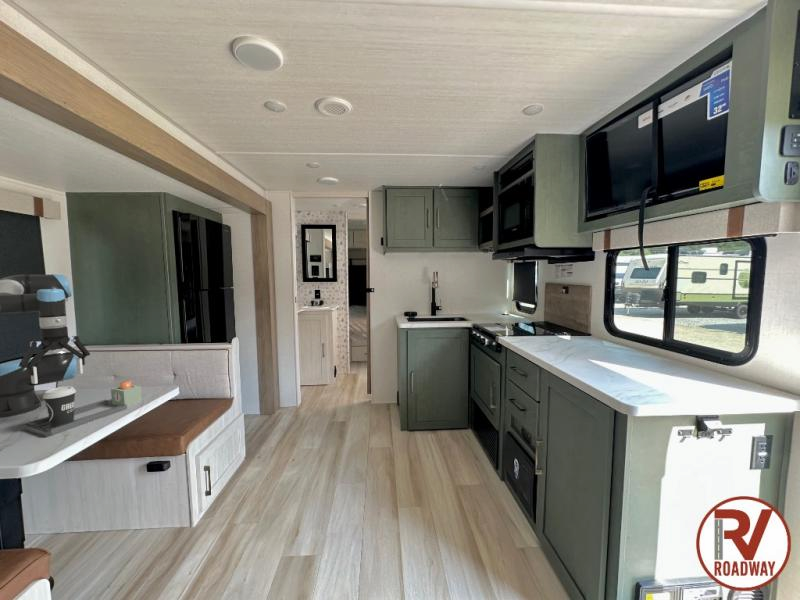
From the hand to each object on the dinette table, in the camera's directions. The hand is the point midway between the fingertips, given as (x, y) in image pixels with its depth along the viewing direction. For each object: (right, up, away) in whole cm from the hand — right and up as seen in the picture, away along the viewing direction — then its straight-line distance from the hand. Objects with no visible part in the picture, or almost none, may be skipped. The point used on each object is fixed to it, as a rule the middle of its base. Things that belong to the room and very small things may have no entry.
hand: (58, 378), depth 130 cm
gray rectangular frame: (+2, -19, +7) cm, 21 cm away
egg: (+8, -14, +23) cm, 28 cm away
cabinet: (+8, -18, +23) cm, 30 cm away
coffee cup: (0, -20, +2) cm, 20 cm away
